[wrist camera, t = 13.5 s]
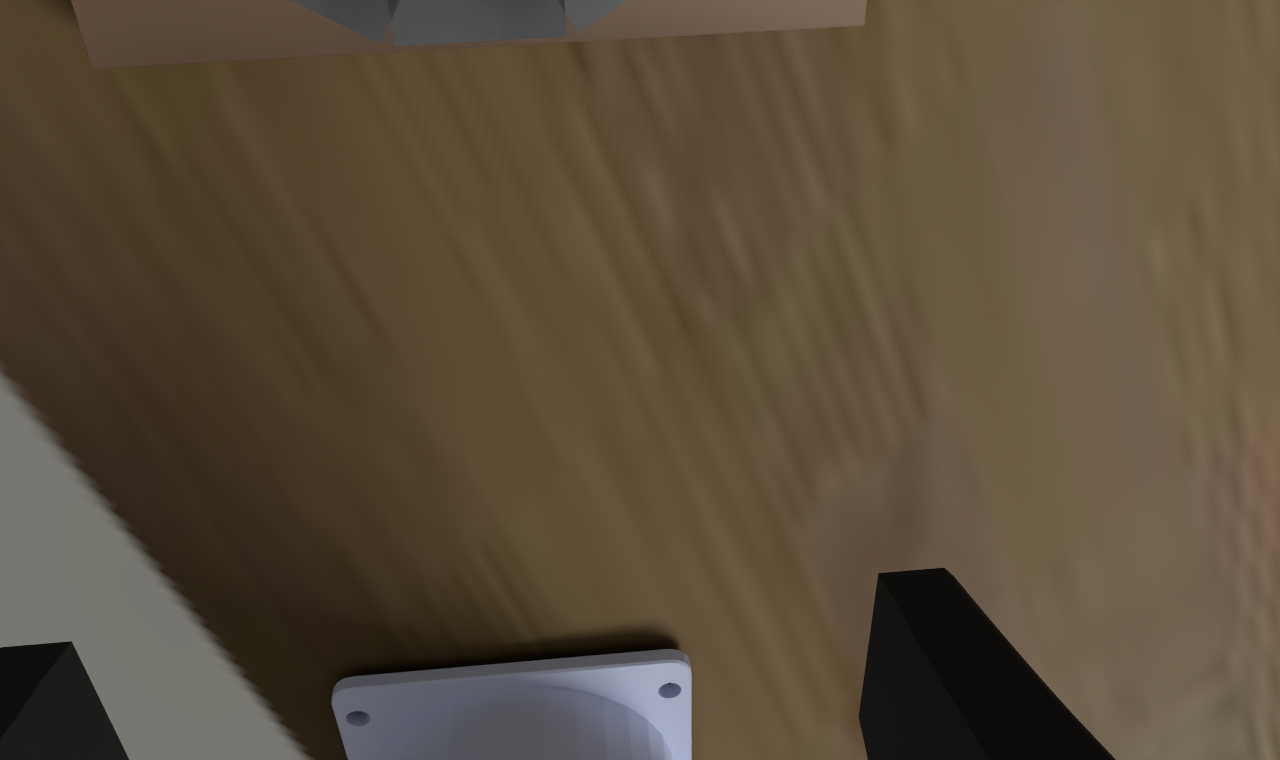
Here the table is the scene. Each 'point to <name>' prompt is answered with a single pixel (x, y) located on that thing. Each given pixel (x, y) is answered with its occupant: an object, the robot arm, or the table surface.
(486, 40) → the socket board
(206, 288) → the table surface
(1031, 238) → the table surface
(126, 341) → the table surface
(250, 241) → the table surface
